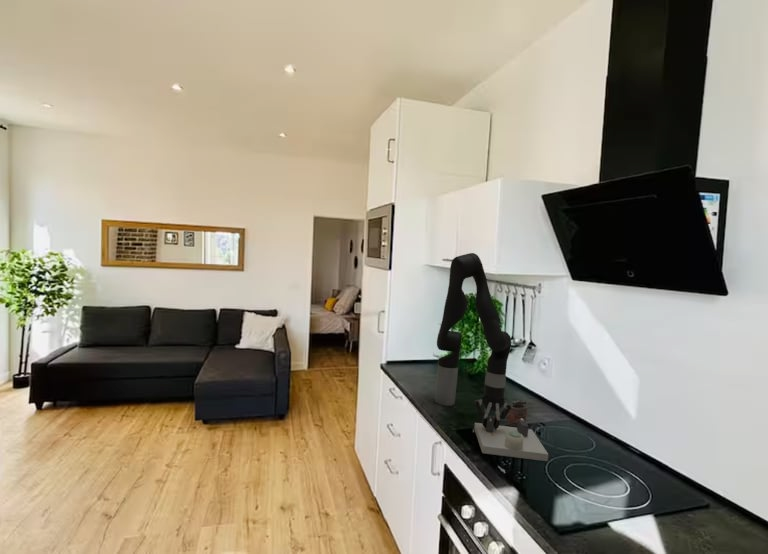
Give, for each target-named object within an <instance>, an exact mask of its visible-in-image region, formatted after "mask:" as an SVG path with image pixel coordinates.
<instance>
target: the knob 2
mask: <svg viewBox="0 0 768 554" xmlns="http://www.w3.org/2000/svg"><path fill="white" fill-rule="evenodd" d="M516 428H517V430H518V432H519V433H520V434H522V435H523V436H527V437H528V429H530V428H529V425H528V423H527V420H526V421H525V420H524V419H522V418H520V419H518V424H517V426H516Z"/></svg>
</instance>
